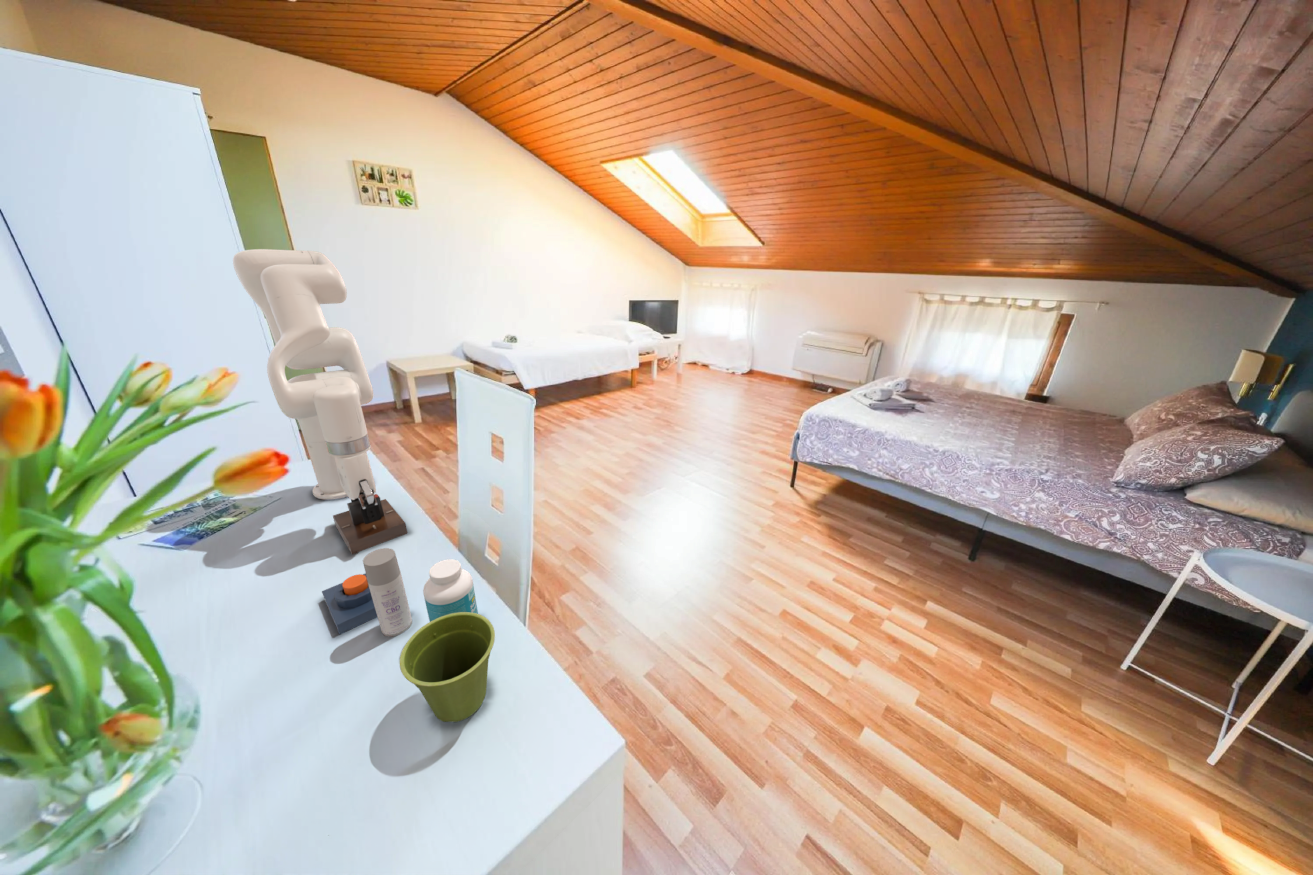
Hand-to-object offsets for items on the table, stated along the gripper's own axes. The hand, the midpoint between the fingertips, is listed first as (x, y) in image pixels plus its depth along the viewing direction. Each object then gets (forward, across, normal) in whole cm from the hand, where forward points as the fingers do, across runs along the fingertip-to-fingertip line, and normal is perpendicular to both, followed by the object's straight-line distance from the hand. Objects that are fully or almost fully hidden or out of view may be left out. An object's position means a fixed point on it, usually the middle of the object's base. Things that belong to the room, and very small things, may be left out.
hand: (366, 512), depth 97 cm
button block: (+5, +24, -8) cm, 26 cm away
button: (+1, +24, -8) cm, 25 cm away
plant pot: (+5, +55, -3) cm, 55 cm away
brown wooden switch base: (+5, 0, 0) cm, 5 cm away
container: (+5, +34, -5) cm, 35 cm away
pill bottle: (+5, +42, +2) cm, 42 cm away
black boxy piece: (+2, 0, 0) cm, 2 cm away
